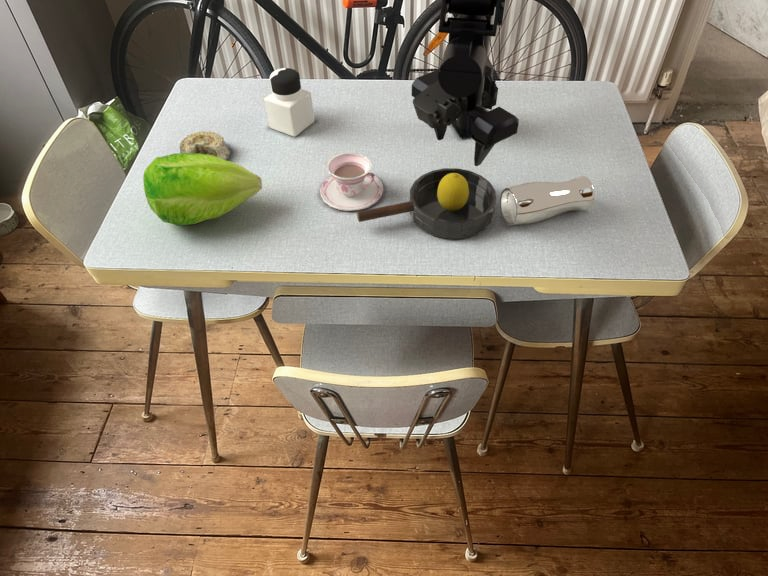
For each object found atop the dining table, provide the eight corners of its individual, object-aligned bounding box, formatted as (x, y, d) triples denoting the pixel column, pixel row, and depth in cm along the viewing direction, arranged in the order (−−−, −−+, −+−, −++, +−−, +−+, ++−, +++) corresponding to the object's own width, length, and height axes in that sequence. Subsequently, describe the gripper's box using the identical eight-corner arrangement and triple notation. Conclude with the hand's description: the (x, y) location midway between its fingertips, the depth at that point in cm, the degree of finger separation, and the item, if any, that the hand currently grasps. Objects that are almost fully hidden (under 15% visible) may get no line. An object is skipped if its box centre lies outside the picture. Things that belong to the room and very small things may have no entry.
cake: (179, 150, 120) (172, 126, 116) (227, 141, 122) (221, 117, 118) (182, 174, 113) (174, 150, 109) (233, 164, 115) (227, 140, 111)
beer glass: (587, 166, 100) (509, 179, 97) (601, 202, 98) (521, 217, 95) (569, 184, 107) (495, 197, 104) (581, 218, 105) (507, 232, 102)
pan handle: (356, 217, 100) (356, 209, 99) (411, 206, 102) (411, 198, 101) (359, 224, 99) (358, 216, 98) (414, 212, 101) (414, 205, 100)
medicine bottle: (315, 121, 125) (308, 69, 116) (295, 137, 121) (286, 85, 112) (289, 112, 128) (281, 61, 119) (269, 128, 124) (258, 76, 115)
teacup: (309, 203, 107) (305, 176, 102) (336, 166, 114) (333, 140, 109) (368, 218, 104) (367, 191, 99) (392, 179, 111) (392, 152, 106)
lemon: (465, 221, 102) (469, 185, 96) (434, 218, 103) (436, 182, 97) (468, 201, 106) (472, 166, 100) (438, 198, 106) (440, 162, 100)
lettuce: (265, 235, 101) (252, 180, 92) (149, 244, 100) (125, 190, 91) (267, 186, 111) (256, 132, 102) (162, 194, 109) (140, 141, 100)
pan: (399, 194, 108) (399, 176, 105) (474, 179, 111) (476, 161, 108) (425, 248, 98) (425, 230, 95) (507, 230, 101) (510, 212, 98)
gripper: (383, 54, 85) (385, 143, 97) (468, 107, 75) (459, 200, 87) (441, 32, 89) (436, 121, 101) (528, 80, 79) (512, 172, 91)
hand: (458, 151), depth 95 cm, fingers open, 9 cm apart
